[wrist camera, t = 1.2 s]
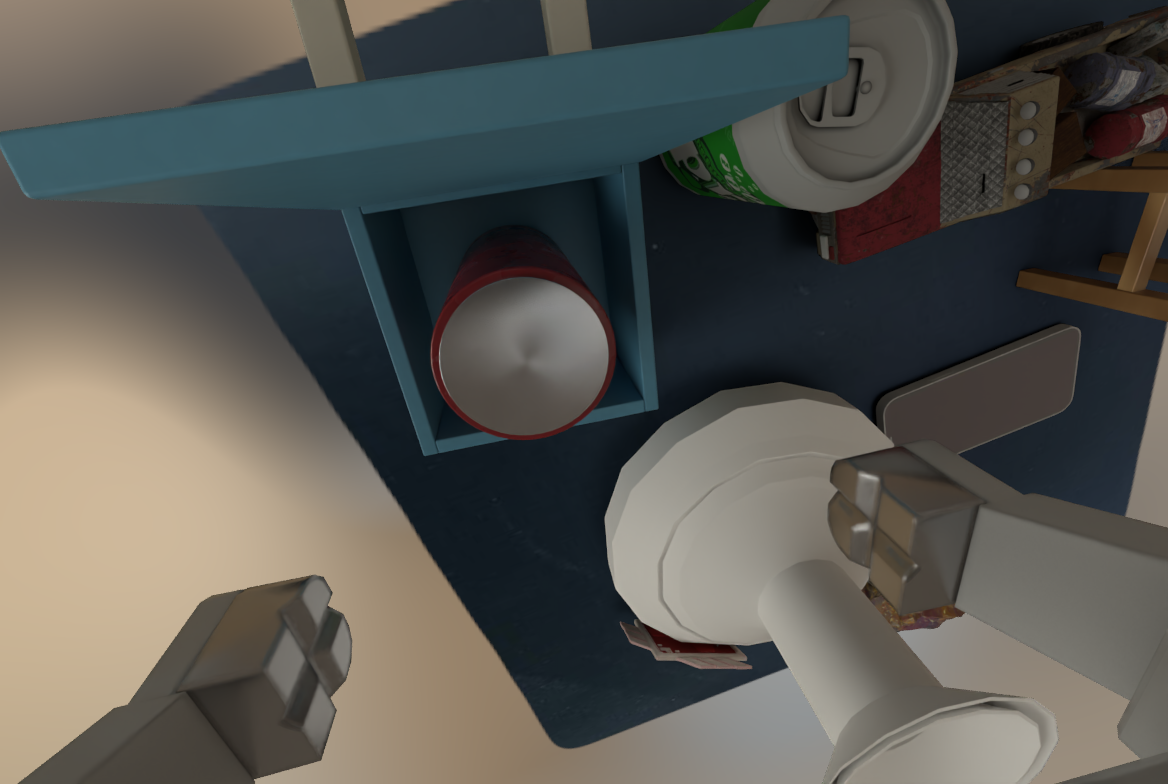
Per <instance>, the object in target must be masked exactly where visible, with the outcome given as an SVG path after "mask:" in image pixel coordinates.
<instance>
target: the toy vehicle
mask: <svg viewBox="0 0 1168 784" xmlns="http://www.w3.org/2000/svg"><path fill="white" fill-rule="evenodd" d="M1129 17H1130V18H1128V19H1124V20H1121V21H1118V22H1116V23H1113V24H1110V25H1108V26H1105V27H1103V22H1102V21H1101V22H1095V23H1090V24H1086V25H1082V26H1078V27H1075V28H1071V29H1068V30H1064V31H1061V32H1057V33H1054V34H1051V35H1048V36H1045V37H1042V38H1039V39H1036V40H1034V41H1030V42H1029V43H1025V44H1023V45H1021V46H1020V50H1019V59H1017V60H1014V61H1011V62H1009V63H1006V64H1003V65H1001V66H998V67H996V68H993V69H990V70H988V71H985V72H982V73H980V74H977V75H974V76H972V77H969V78H966V79H964V80H961V81H958V82H955V83H954V85H953V88H952V91H951V94H950V96H949V99H948V102H947V105H946V107H945V110H944V113H943V115H942V118H941V120H940V122H939V123H938V125H937V127H936V129H935V130H934V132H933V134H932V135H931V137H930V138H929V140H928V141H927V143H926V144H925V146H924V148H923V149H922V151H921V152H920V154H919V155H918V157H917V159H916V160H915V162H914V163H913V164H912V165H911V166H910V167H909V168H908V169H907V170H906V171H905V172H904V173H903V174H902V175H901V176H900V177H899V178H898V179H897V180H896V181H895V182H893V183H892V184H891V185H890V186H889V187H888V188H887V189H886V190H884V191H882V192H881V193H879V194H877V195H875V196H874V197H872V198H870V199H868V200H867V201H865V202H863V203H861V204H860V205H858V206H854V207H849V208H845V209H840V210H836V211H831V212H827V213H822V212H815V211H809V213H811V214H812V218H813V220H814V222H815V223H816V225H817V227H818V229H817V230H816V232H815V234H816V244H817V253H818V254H819V256H820V255H821V258H822V259H824V260H827V261H830V262H832V263H835V264H838V265H840V264H848V263H851V262H854V261H857V260H860V259H863V258H865V257H868V256H871V255H874V254H876V253H879V252H882V251H884V250H887V249H890V248H892V247H895V246H898V245H900V244H903V243H906V242H908V241H911V240H913V239H916V238H919V237H921V236H924V235H926V234H929V233H932V232H934V231H937V230H939V229H942V228H945V227H947V226H950V225H953V224H955V223H958V222H964V221H967V220H972V219H974V218H979V217H984V216H989V215H995V214H1000V213H1003V212H1005V211H1008V210H1011V209H1013V208H1016V207H1019V206H1021V205H1024V204H1027V203H1029V202H1032V201H1035V200H1037V199H1040V198H1041V197H1043V196H1046V195H1047V194H1048V189H1049V188H1052V187H1055V186H1057V185H1060V184H1063V183H1066V182H1068V181H1071V180H1074V179H1076V178H1079V177H1082V176H1084V175H1087V174H1090V173H1092V172H1095V171H1098V170H1100V169H1103V168H1106V167H1108V166H1111V165H1114V164H1117V163H1119V162H1122V161H1125V160H1127V159H1130V158H1133V157H1135V156H1138V155H1141V154H1143V153H1146V152H1149V151H1151V150H1154V149H1156V148H1158V147H1159V146H1160V144H1161V140H1162V139H1164V138H1165V137H1168V7H1167V6H1163V7H1159V8H1155V9H1152V10H1148V11H1145V12H1141V13H1137V14H1134V15H1130V16H1129Z"/></svg>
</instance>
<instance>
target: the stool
mask: <svg viewBox="0 0 1168 784" xmlns="http://www.w3.org/2000/svg"><path fill="white" fill-rule="evenodd" d="M1050 189H1075V190H1099V191H1123V192H1148V193H1149V196H1148V199H1147V202H1146V205H1145V208H1144V211H1143V214H1142V217H1141V220H1140V223H1139V226H1138V229H1137V232H1136V234H1135V237H1134V240H1133V243H1132V246H1131V249H1130V252H1129V254H1127V253H1120V252H1115V253H1110V254H1105V255H1103V256H1102V259H1101V262H1100V266H1099V269H1098V271H1103V272H1108V273H1114V274H1120V275H1121V278H1120V281H1119V284H1115V283H1110V282H1105V281H1100V280H1094V279H1089V278H1084V277H1079V276H1074V275H1068V274H1063V273H1058V272H1053V271H1047V270H1042V269H1037V268H1032V269H1026V270H1021V271H1020V272H1019V276H1018V280H1017V284H1016V286H1017V287H1021V288H1026V289H1030V290H1034V291H1039V292H1043V293H1047V294H1051V295H1056V296H1060V297H1064V298H1069V299H1073V300H1077V301H1081V302H1086V303H1090V304H1094V305H1099V306H1103V307H1107V308H1111V309H1116V310H1120V311H1124V312H1129V313H1133V314H1137V315H1141V316H1146V317H1150V318H1154V319H1159V320H1163V321H1167V322H1168V293H1162V292H1157V291H1152V290H1147V289H1145V288H1146V285H1147V283H1148V280H1154V281H1160V282H1165V283H1168V259H1163V258H1157V255H1158V253H1159V250H1160V247H1161V245H1162V242H1163V239H1164V236H1165V234H1166V231H1167V228H1168V151H1149V152H1146V153H1143V154H1141V155H1138V156H1135V157H1134V160H1133V163H1132V166H1108V167H1106V168H1103V169H1100V170H1098V171H1095V172H1092V173H1090V174H1087V175H1084V176H1082V177H1079V178H1076V179H1074V180H1071V181H1068V182H1066V183H1063V184H1060V185H1057V186H1055V187H1052V188H1050Z"/></svg>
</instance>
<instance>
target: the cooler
mask: <svg viewBox="0 0 1168 784" xmlns="http://www.w3.org/2000/svg"><path fill="white" fill-rule="evenodd" d="M341 211H342V214H343V216H344V219H345V222H346V225H347V228H348V231H349V234H350V237H351V240H352V243H353V246H354V249H355V252H356V255H357V258H358V261H359V264H360V267H361V270H362V273H363V276H364V279H365V282H366V285H367V288H368V291H369V294H370V297H371V300H372V303H373V306H374V309H375V311H376V314H377V317H378V320H379V323H380V326H381V329H382V332H383V335H384V338H385V341H386V344H387V347H388V350H389V353H390V356H391V359H392V362H393V365H394V368H395V371H396V374H397V377H398V380H399V383H400V386H401V389H402V392H403V395H404V398H405V401H406V404H407V406H408V409H409V412H410V415H411V418H412V421H413V424H414V427H415V430H416V433H417V436H418V439H419V442H420V445H421V448H422V451H423V454H424V456H427V455H432V454H437V453H438V452H439V453H442V452H446V451H451V450H456V449H461V448H466V447H471V446H476V445H481V444H486V443H491V442H496V441H501V440H506V439H507V438H502V437H497V436H494V435H491V434H488V433H485V432H483V431H481V430H479V429H477V428H475V427H473V426H472V425H470V424H469V423H467V422H466V421H465V420H463V419H462V418H461V417H460V416H458V415H457V414H456V413H455V412H454V411H453V410H452V408H451V407H450V406H449V405H448V404H447V402H446V401H445V399H444V398H443V396H442V395H441V393H440V391H439V389H438V387H437V385H436V382H435V379H434V376H433V372H432V368H431V359H430V348H431V339H432V335H433V330H434V327H435V325H436V322H437V319H438V317H439V314H440V312H441V310H442V307H443V305H444V302H445V300H446V297H447V295H448V293H449V290H450V288H451V285H452V283H453V280H454V278H455V275H456V273H457V271H458V268H459V266H460V263H461V261H462V258H463V256H464V254H465V252H466V251H467V249H468V248H469V246H470V245H471V244H472V243H473V242H474V241H475V240H476V239H477V238H478V237H479V236H481V235H482V234H483V233H485V232H487V231H489V230H491V229H493V228H496V227H500V226H504V225H523V226H528V227H531V228H534V229H536V230H538V231H541V232H542V233H544V234H546V235H547V236H549V237H550V238H551V239H552V240H553V241H554V242H555V243H556V244H557V245H558V246H559V247H560V249H561V250H562V251H563V253H564V254H565V256H566V257H567V258H568V260H569V261H570V263H571V264H572V265H573V267H574V268H575V269H576V271H577V272H578V274H579V275H580V276H581V278H582V279H583V280H584V282H585V283H586V285H587V286H588V287H589V289H590V290H591V291H592V293H593V294H594V296H595V297H596V298H597V300H598V301H599V303H600V304H601V306H602V307H603V308H604V310H605V312H606V314H607V316H608V318H609V320H610V322H611V325H612V328H613V331H614V336H615V341H616V363H615V368H614V373H613V376H612V379H611V382H610V385H609V387H608V389H607V391H606V393H605V394H604V396H603V398H602V399H601V400H600V402H599V403H598V405H597V406H596V407H595V408H594V409H593V410H592V411H591V413H589V414H588V415H587V416H586V417H585V418H584V419H583V420H581V421H580V422H578V423H577V424H575V425H574V426H576V425H581V424H586V423H591V422H596V421H601V420H606V419H611V418H616V417H621V416H626V415H631V414H636V413H641V412H644V411H651V410H656V409H658V408H659V405H658V392H657V380H656V368H655V356H654V344H653V332H652V319H651V307H650V295H649V283H648V271H647V259H646V246H645V234H644V222H643V210H642V198H641V186H640V173H639V162H637V163H631V164H625V165H618V166H612V167H606V168H599V169H593V170H587V171H580V172H574V173H568V174H562V175H555V176H549V177H543V178H536V179H530V180H524V181H517V182H511V183H505V184H498V185H492V186H486V187H480V188H473V189H467V190H461V191H454V192H448V193H442V194H435V195H429V196H423V197H416V198H410V199H404V200H398V201H391V202H385V203H379V204H372V205H366V206H360V207H353V208H347V209H341Z"/></svg>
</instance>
